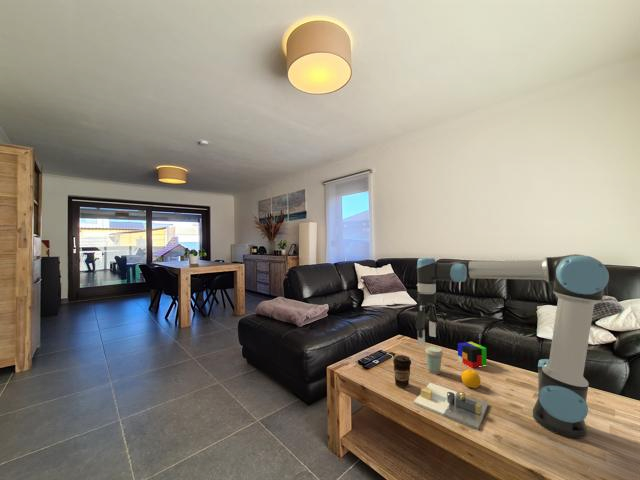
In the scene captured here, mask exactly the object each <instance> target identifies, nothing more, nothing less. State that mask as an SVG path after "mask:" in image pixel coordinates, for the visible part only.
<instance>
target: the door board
mask: <svg viewBox="0 0 640 480" xmlns="http://www.w3.org/2000/svg"><path fill="white" fill-rule="evenodd" d="M447 392H452V393H454V394H455V395H456V393H457V392H458V391H456V390H452V389H449V388H447V387H444V386H441V385H438V384H435V383H433V382H429V384H427V386H425V387H422V388H421V389H420V394H419V395H418V396H417V397H416V398H415V399H414V400H413V405H416V406H418V407H420V408H422V409H426V410H427V411H431V412H432V413H435V414H437V415H439V416H440V415H441V416H442V417H444V412H445V411H446V409H447V408H448V406H449V404H450V403H448V402H447Z"/></svg>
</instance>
